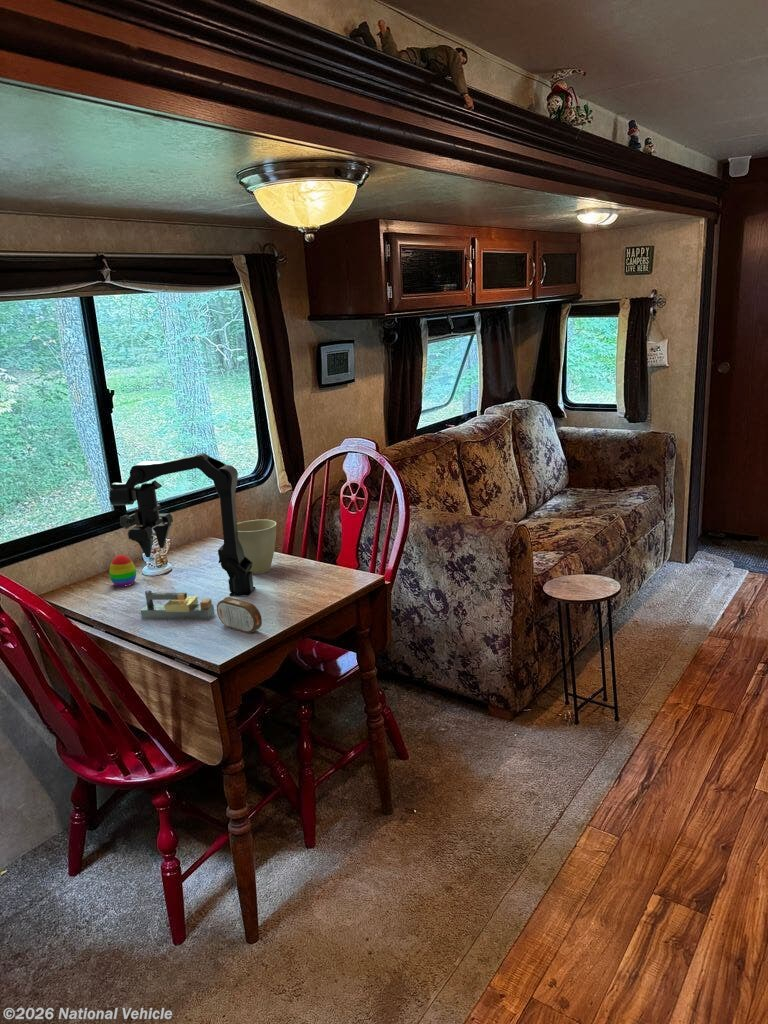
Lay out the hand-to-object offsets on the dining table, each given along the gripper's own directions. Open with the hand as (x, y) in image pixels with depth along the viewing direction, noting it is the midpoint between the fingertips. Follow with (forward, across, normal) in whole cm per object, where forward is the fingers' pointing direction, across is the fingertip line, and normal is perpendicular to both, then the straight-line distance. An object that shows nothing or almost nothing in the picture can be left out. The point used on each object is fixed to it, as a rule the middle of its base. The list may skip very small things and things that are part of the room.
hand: (155, 552), depth 217 cm
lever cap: (+11, +17, +14) cm, 25 cm away
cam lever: (+11, +17, +10) cm, 23 cm away
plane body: (+14, +17, +13) cm, 26 cm away
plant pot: (+14, -22, +25) cm, 36 cm away
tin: (+15, +25, +34) cm, 45 cm away
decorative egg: (+14, -9, -17) cm, 24 cm away
